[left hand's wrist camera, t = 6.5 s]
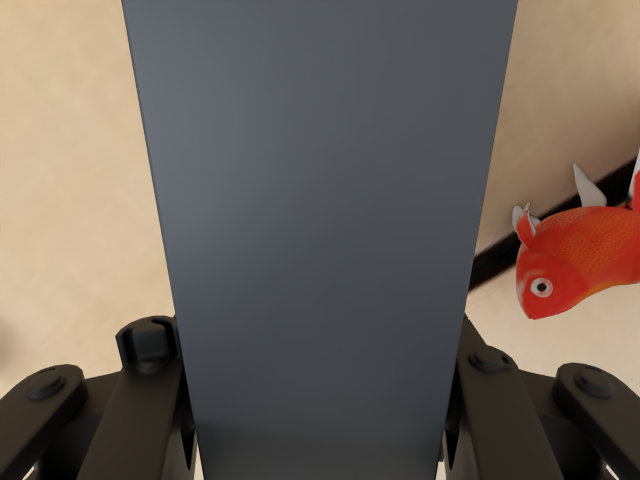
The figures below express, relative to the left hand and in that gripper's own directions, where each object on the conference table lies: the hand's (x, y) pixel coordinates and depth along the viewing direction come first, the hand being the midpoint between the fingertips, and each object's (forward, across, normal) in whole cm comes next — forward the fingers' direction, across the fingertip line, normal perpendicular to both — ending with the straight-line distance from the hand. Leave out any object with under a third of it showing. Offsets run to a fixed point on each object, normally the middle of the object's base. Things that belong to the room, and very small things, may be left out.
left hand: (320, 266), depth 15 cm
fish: (+10, -17, -1) cm, 19 cm away
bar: (+1, 0, -8) cm, 8 cm away
